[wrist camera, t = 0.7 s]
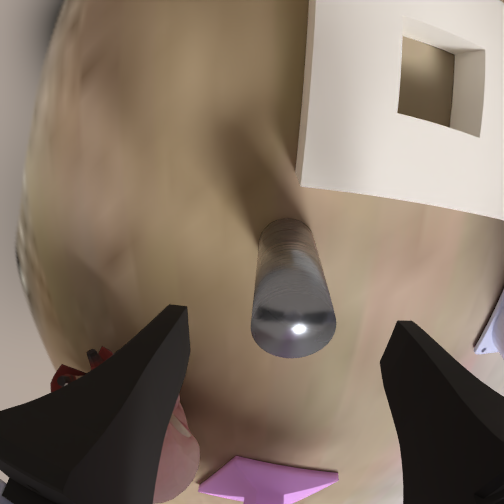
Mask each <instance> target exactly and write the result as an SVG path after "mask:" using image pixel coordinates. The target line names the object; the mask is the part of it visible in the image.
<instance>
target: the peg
mask: <svg viewBox="0 0 504 504" xmlns="http://www.w3.org/2000/svg"><path fill="white" fill-rule="evenodd" d="M335 329H336V318H335V314H334V310H333V306H332V302H331V298H330V294H329V291H328V287H327V283H326V280H325V276H324V272H323V269H322V265H321V262H320V258H319V255H318V251H317V248H316V244H315V241H314V237H313V235H312V232H311V231H310V229H309V228H308V227H307V226H306V225H305V224H304V223H302V222H300V221H298V220H295V219H280V220H277V221H274V222H272V223H271V224H269V225H268V226H267V227H266V228H265V229H264V231H263V232H262V234H261V237H260V241H259V250H258V260H257V270H256V280H255V290H254V300H253V310H252V320H251V333H252V336H253V338H254V340H255V342H256V343H257V344H258V345H259V346H260V347H261V348H262V349H263V350H264V351H266V352H268V353H270V354H272V355H275V356H278V357H283V358H300V357H305V356H308V355H311V354H313V353H315V352H317V351H319V350H321V349H322V348H323V347H324V346H326V345H327V344H328V343H329V341H330V340H331V339H332V337H333V335H334V333H335Z"/></svg>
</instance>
